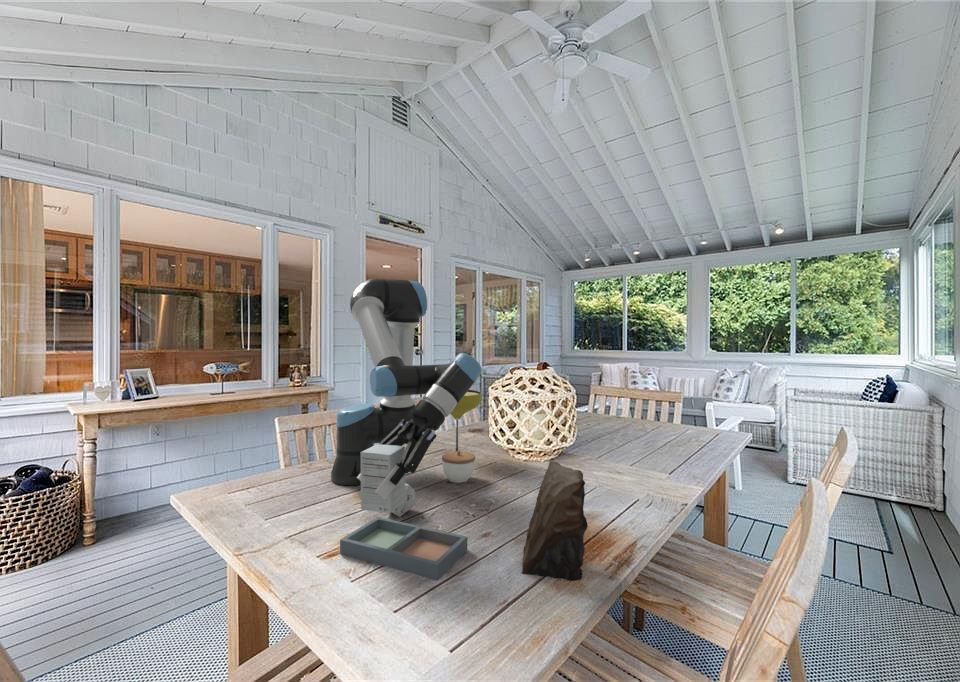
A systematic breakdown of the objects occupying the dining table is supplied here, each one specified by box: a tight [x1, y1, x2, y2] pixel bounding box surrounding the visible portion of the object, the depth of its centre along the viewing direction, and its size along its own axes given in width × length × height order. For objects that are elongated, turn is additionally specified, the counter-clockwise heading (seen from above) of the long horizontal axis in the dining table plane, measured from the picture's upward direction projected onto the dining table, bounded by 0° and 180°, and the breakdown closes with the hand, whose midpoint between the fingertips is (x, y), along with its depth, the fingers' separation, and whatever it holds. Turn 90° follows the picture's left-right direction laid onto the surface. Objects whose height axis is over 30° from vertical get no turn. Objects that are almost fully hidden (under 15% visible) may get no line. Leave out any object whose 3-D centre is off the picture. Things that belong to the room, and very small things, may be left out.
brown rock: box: [521, 460, 589, 582], centre depth 91 cm, size 13×13×20 cm
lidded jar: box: [441, 449, 476, 484], centre depth 144 cm, size 11×11×9 cm
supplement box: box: [360, 443, 406, 514], centre depth 98 cm, size 7×7×13 cm
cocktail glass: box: [449, 389, 482, 452], centre depth 166 cm, size 18×18×25 cm
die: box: [391, 482, 417, 518], centre depth 117 cm, size 8×9×10 cm
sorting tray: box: [339, 516, 468, 581], centre depth 96 cm, size 24×13×3 cm, turn 66°
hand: (370, 488), depth 96 cm, fingers closed on supplement box, 10 cm apart
